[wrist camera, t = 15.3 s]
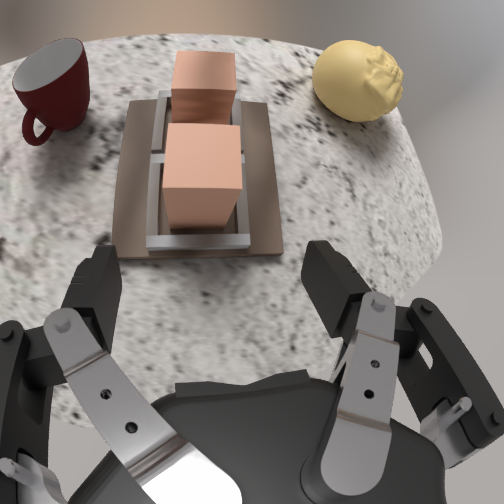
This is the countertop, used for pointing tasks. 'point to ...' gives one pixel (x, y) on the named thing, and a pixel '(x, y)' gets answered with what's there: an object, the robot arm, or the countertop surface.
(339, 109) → the sculpture
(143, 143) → the wooden block stand
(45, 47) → the mug
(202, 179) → the pillar
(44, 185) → the countertop surface
